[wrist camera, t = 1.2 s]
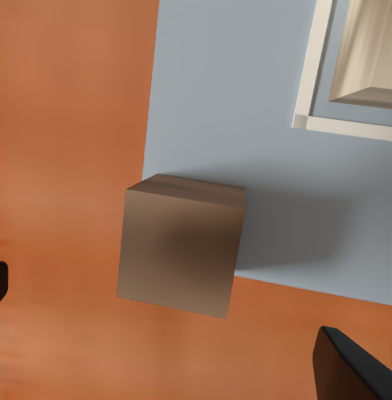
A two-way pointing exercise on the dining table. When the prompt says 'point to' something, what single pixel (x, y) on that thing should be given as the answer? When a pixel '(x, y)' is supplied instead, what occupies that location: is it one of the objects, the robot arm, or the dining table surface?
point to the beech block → (365, 56)
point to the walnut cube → (181, 243)
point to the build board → (276, 139)
